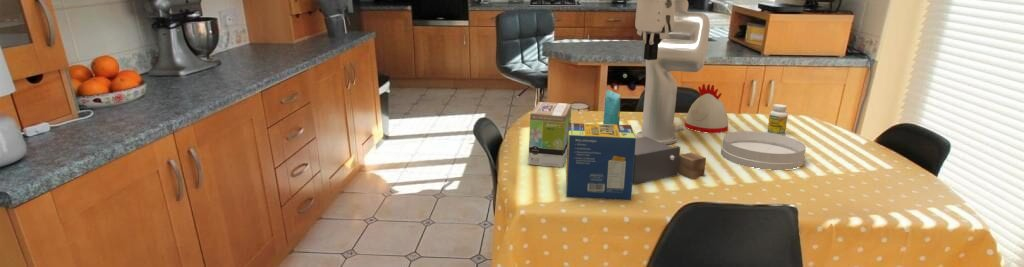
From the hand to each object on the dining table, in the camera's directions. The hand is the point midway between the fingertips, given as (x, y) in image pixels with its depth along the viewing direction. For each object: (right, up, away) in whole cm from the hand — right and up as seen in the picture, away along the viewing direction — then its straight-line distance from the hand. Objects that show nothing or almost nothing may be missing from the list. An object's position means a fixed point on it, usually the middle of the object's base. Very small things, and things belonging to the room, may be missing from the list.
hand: (650, 59), depth 144 cm
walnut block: (+11, -30, +1) cm, 32 cm away
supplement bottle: (+51, -20, +38) cm, 67 cm away
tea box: (-25, -27, +13) cm, 39 cm away
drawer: (-2, -30, +1) cm, 30 cm away
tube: (-8, -27, +13) cm, 31 cm away
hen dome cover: (+30, -18, +45) cm, 57 cm away
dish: (+36, -27, +15) cm, 47 cm away
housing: (-3, -30, +3) cm, 30 cm away
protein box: (-15, -34, -10) cm, 38 cm away
